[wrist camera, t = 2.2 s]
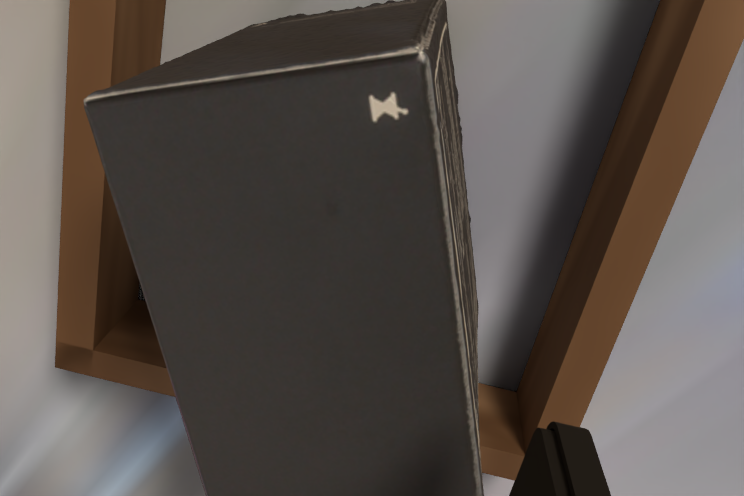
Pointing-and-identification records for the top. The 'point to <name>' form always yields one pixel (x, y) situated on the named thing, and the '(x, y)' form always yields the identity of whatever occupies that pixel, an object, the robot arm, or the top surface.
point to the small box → (308, 251)
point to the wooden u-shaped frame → (576, 280)
